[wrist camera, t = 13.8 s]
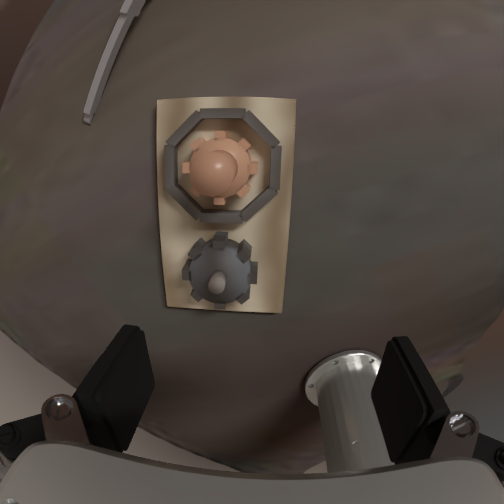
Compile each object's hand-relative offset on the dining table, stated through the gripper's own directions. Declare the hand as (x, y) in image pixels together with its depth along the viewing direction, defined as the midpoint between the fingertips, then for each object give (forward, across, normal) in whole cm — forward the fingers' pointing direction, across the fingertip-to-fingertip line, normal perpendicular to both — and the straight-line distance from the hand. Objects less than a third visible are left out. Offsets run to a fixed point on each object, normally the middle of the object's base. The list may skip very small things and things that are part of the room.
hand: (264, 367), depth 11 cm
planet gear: (+22, +5, -6) cm, 23 cm away
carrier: (+23, +5, -1) cm, 24 cm away
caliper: (+23, +17, -21) cm, 35 cm away
